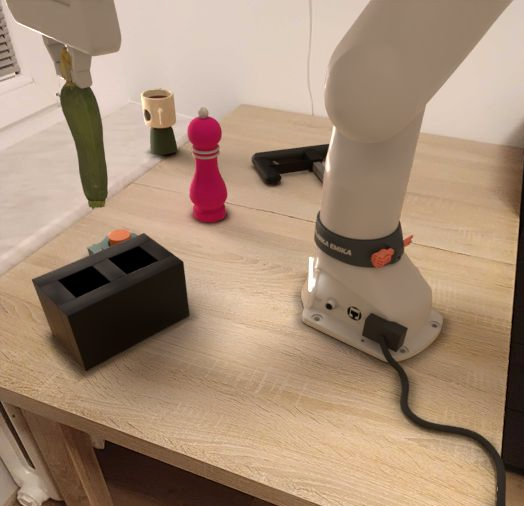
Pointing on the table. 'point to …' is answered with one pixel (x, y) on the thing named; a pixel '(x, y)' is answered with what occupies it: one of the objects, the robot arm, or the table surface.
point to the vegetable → (85, 134)
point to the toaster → (113, 299)
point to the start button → (118, 236)
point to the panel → (102, 245)
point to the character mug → (160, 120)
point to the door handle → (290, 162)
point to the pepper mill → (206, 169)
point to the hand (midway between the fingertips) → (75, 81)
